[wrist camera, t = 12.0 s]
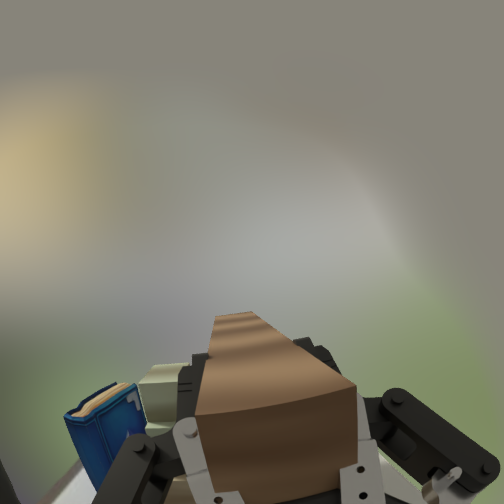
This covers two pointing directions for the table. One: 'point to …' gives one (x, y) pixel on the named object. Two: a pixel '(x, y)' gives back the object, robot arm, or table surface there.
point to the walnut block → (272, 415)
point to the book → (105, 427)
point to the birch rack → (164, 417)
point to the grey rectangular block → (399, 484)
